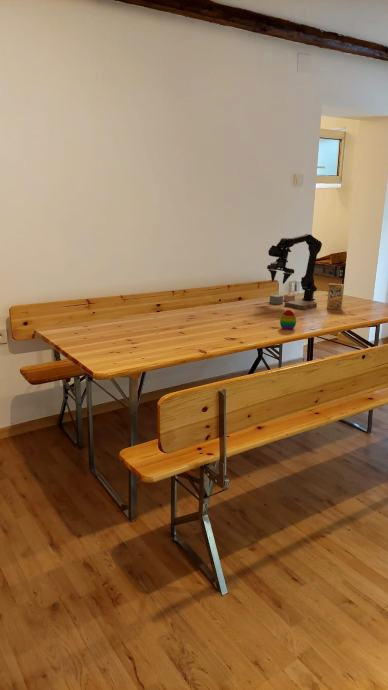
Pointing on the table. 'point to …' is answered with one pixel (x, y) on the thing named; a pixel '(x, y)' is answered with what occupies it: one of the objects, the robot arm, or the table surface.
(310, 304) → the walnut plinth
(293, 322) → the decorative egg
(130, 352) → the table surface
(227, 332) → the table surface
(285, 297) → the terracotta cube
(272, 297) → the grey block
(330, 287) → the candy box
